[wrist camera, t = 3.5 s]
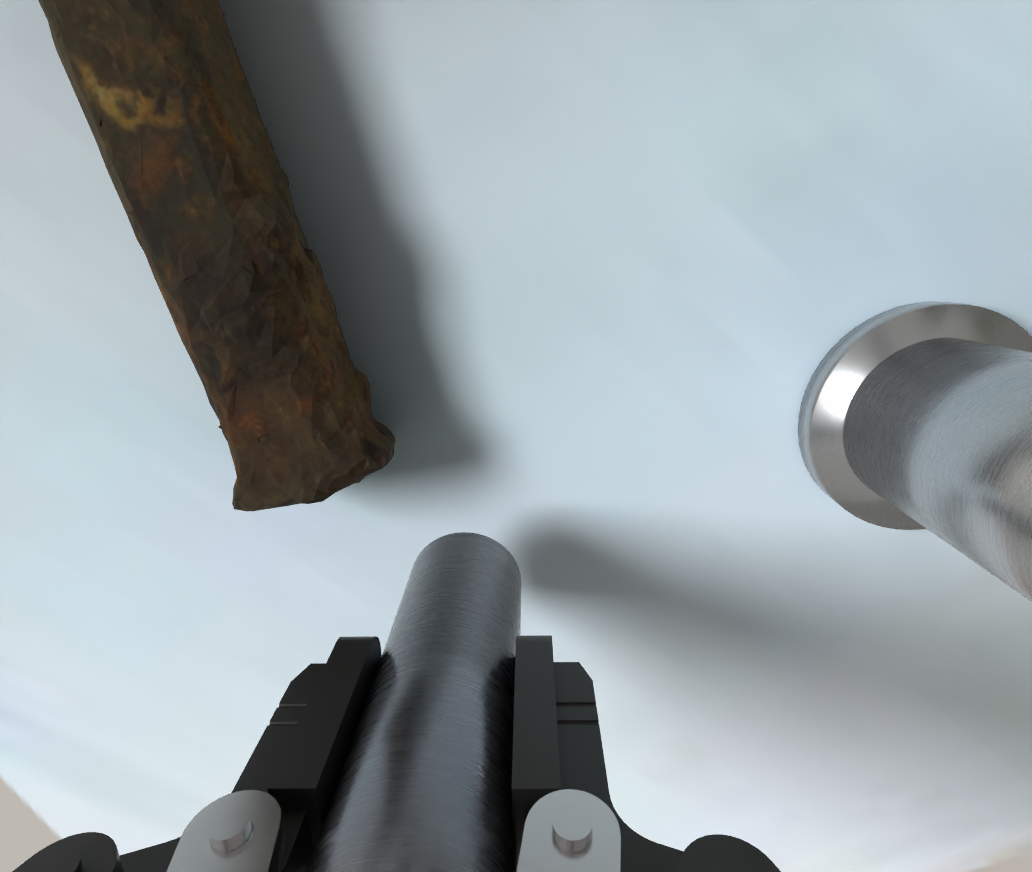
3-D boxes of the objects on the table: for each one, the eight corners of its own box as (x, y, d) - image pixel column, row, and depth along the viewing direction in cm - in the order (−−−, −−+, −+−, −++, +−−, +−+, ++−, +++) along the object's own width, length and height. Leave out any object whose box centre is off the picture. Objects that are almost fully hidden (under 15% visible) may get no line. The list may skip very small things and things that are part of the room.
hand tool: (415, 444, 17) (375, 511, 13) (281, 473, 17) (198, 548, 13) (150, -453, 12) (-76, -878, 7) (-34, -388, 12) (-355, -755, 8)
